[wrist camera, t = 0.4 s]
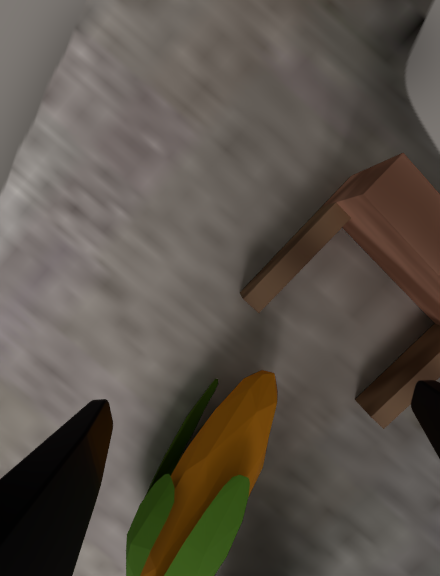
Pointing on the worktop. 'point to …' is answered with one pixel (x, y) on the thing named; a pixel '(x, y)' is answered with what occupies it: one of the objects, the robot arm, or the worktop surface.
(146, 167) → the worktop surface
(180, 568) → the corn
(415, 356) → the guide bay
